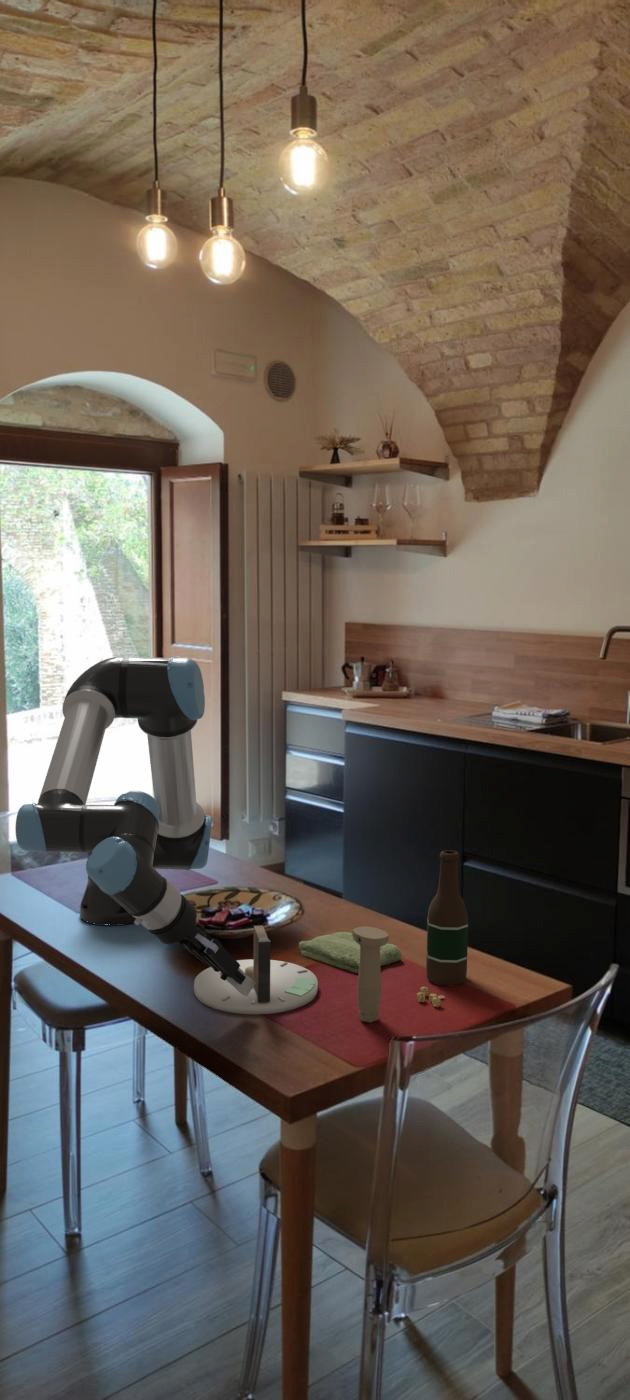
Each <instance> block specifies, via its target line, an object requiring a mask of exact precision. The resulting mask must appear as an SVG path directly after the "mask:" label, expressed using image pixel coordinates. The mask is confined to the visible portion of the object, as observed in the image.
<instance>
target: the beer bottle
mask: <svg viewBox="0 0 630 1400" xmlns="http://www.w3.org/2000/svg"><path fill="white" fill-rule="evenodd" d="M439 859H440V866H439V867H440V868H439V881H438V888H437V891H436V894H435V896H434V897H433V898H432V899H431V901H430V904H429V906H428V910H427V911H428V912H427V918H426V919H427V923H426V954H425V955H426V957H425V958H426V959H425V960H426V962H425V966H426V969H425V970H426V977H427V981H428V982H430V981H431V982H430V983H432V982H433V983H432V984H435V983H436V984H435V985H438V984H439V985H438V986H442V985H456V986H459V985H461V984H464V983H465V982H466V981H467V973H468V946H469V944H468V942H469V914H468V910H467V908H466V907H467V906H466V904H465V901H464V900H463V898H462V896H461V894H460V885H459V884H460V883H459V880H460V879H459V860H460V859H461V858H460V854H459V852H458V851H456V850H452V849H449V850H448V849H445V850H442V851H441V852H440V853H439ZM463 982H464V983H463ZM458 984H459V985H458Z"/></svg>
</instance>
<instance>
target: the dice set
mask: <svg viewBox="0 0 630 1400" xmlns="http://www.w3.org/2000/svg"><path fill="white" fill-rule="evenodd" d="M429 990H430V989H429V988H428V987H427V986H422V987H420V990H419V991H420V992H417V993H416V1002H417V1001H422V1002H423V1001H425V1002H426V997H425V996H427V995H428V1000H429V1002H430V1001H432V1003H431V1006H432V1005H433V1006H440V1007H441V1000H440V999H441V998H445V999H446V997H445V996H444V995H438V994H436V993H430V994H429ZM437 997H438V998H437Z"/></svg>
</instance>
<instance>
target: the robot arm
mask: <svg viewBox="0 0 630 1400" xmlns="http://www.w3.org/2000/svg"><path fill="white" fill-rule="evenodd" d="M202 674H203V673H202V671H201V668H200V666H199V664H198V662H197V661H195V660H194V659H191V658H186V657H177V656H170V657H148V656H147V657H144V656H143V657H141V656H140V657H139V656H136V657H135V656H131V657H130V656H113V657H109V658H106V659H103V660H101V661H98V662H96V663H95V664H93V665H92V666H90V667H89V668H87V669H86V670H85V671H84V672H82V673H81V674H80V675H79V676H78V677H77V678H76V679H75V681H74V682H73V683H72V684H71V686H70V687H69V689H68V691H67V692H66V695H65V697H64V700H63V702H62V707H61V708H62V711H61V712H62V714H63V717H64V719H63V722H62V726H61V728H60V731H59V734H58V738H57V742H56V744H55V746H54V750H53V753H52V756H51V760H50V763H49V766H48V770H47V772H46V776H45V778H44V782H43V785H42V787H41V792H40V795H39V798H38V801H37V803H36V802H32V803H28V804H27V803H25V804H22V805H21V806H20V808H19V809H18V811H17V814H16V817H15V818H16V819H15V839H16V842H17V845H18V847H19V848H20V849H21V850H22V851H27V852H37V853H39V852H40V853H45V854H46V853H87V859H86V864H85V871H86V874H87V883H86V886H85V889H84V893H83V896H82V899H81V900H80V901H81V902H80V905H79V918H80V917H81V918H82V919H83V920H85V921H88V922H91V923H95V924H94V925H97V924H108V925H107V926H118V925H117V924H125V925H128V924H127V923H131V924H134V925H136V926H140V925H142V926H143V927H144V928H146V929H147V930H148V931H149V933H150V934H152V935H153V936H154V937H155V938H156V939H157V940H158V941H160V943H162V944H165V945H173V944H176V943H177V944H178V945H180V946H182V947H184V948H185V949H186V951H188V952H190V953H191V954H192V955H193V956H195V957H196V958H197V959H198V960H200V962H202V963H203V964H204V965H205V966H206V967H208V968H210V967H212V968H213V970H214V971H215V972H219V971H220V975H221V977H220V978H221V979H222V980H224V981H225V980H226V981H228V982H229V983H230V984H231V985H232V986H233V987H234V988H235V989H236V990H238V991H239V992H240V993H241V994H242V995H244V996H246V997H247V996H248V994H249V993H250V991H251V990H252V988H253V987H254V985H255V984H256V983H255V982H254V981H253V980H252V979H251V978H250V977H249V976H248V975H247V974H245V973H244V972H243V971H242V970H241V969H240V968H239V967H240V964H239V963H238V962H237V960H236V959H235V958H234V957H233V956H232V954H230V952H229V951H228V950H227V949H226V948H225V947H224V946H223V944H222V943H221V941H220V940H219V939H218V938H216V937H215V938H213V937H212V936H211V935H209V933H207V932H206V931H207V930H206V929H205V927H204V926H202V924H200V923H197V916H198V913H197V911H198V910H197V908H196V906H194V904H193V903H192V902H190V901H189V900H188V899H187V898H186V897H185V896H184V895H183V894H182V893H181V892H180V891H179V890H178V889H177V888H176V887H175V886H174V885H173V884H172V883H171V882H170V881H169V880H168V879H166V877H164V876H163V875H162V874H160V873H159V872H158V871H157V870H180V871H181V870H183V871H191V870H199V869H200V870H201V869H203V868H205V867H206V866H207V864H208V859H209V852H210V851H209V850H210V842H211V832H212V824H213V817H212V816H211V815H209V814H207V813H205V812H204V809H203V807H202V805H201V804H199V803H198V802H197V795H196V793H197V792H196V783H195V782H196V781H195V780H196V779H195V768H194V755H193V741H192V730H193V729H194V728H195V726H196V725H197V723H198V720H200V719H202V718H203V716H204V714H205V709H206V703H205V702H206V699H205V698H206V697H205V685H204V680H203V675H202ZM119 718H120V719H137V724H138V727H139V728H140V730H141V731H142V732H143V733H144V734H146V736H147V745H148V752H149V761H150V771H151V772H150V773H151V782H152V791H153V796H152V795H150V794H149V793H146V792H145V791H141V790H130V791H128V792H125V793H122V794H120V795H119V796H118V797H117V798H116V801H115V802H114V804H87V801H88V796H89V792H90V789H91V787H92V786H91V785H92V781H93V779H94V774H95V771H96V766H97V763H98V759H99V754H100V752H101V748H102V745H103V739H104V737H105V732H106V729H108V728H109V727H110V726H111V725H112V724H113V722H114V720H115V719H119ZM81 918H80V919H81ZM82 919H81V920H82ZM83 920H82V921H83ZM85 921H84V922H85ZM88 922H87V923H88ZM132 922H134V923H132ZM91 923H90V924H91ZM109 924H110V925H109Z"/></svg>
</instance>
